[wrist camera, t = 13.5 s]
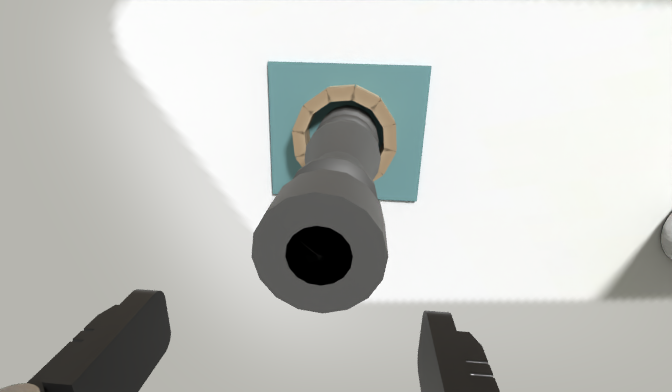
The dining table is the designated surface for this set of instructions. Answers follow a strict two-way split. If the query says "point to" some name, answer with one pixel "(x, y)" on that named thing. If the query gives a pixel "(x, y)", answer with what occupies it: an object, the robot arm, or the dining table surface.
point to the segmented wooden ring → (345, 94)
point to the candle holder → (327, 220)
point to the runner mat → (383, 80)
